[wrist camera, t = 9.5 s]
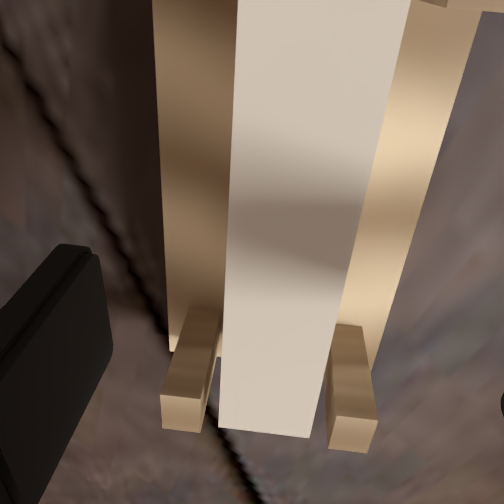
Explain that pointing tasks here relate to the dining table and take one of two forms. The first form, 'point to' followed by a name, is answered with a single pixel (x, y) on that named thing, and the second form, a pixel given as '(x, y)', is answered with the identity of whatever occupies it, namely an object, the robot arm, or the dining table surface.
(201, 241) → the rack
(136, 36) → the dining table surface
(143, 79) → the dining table surface
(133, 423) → the dining table surface
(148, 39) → the dining table surface
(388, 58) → the white rectangular block
